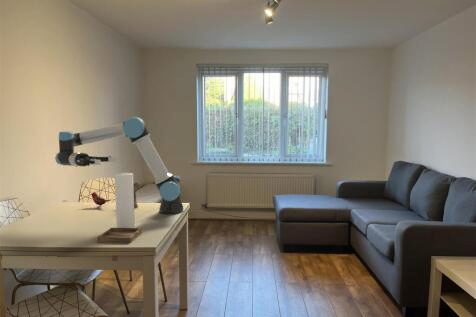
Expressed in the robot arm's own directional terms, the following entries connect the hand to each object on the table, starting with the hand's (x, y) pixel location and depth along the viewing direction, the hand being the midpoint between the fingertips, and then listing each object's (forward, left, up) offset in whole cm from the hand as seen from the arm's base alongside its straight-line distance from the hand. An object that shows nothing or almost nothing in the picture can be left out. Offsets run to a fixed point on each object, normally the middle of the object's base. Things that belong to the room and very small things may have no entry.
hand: (109, 161), depth 199 cm
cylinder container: (-4, +9, -36) cm, 38 cm away
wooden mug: (-27, -32, -36) cm, 56 cm away
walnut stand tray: (+5, +23, -36) cm, 43 cm away
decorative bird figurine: (-12, -47, -36) cm, 61 cm away
